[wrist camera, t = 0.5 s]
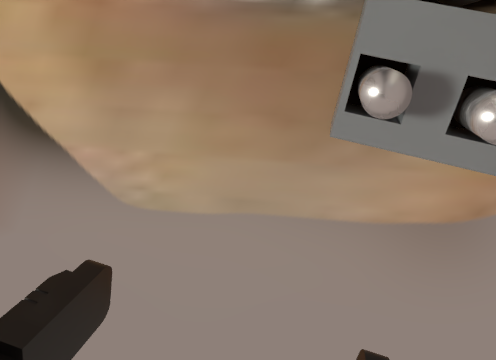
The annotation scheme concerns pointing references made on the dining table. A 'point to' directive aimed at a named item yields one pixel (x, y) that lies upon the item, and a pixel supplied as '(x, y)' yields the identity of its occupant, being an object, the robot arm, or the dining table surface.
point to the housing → (422, 80)
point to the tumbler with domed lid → (457, 2)
